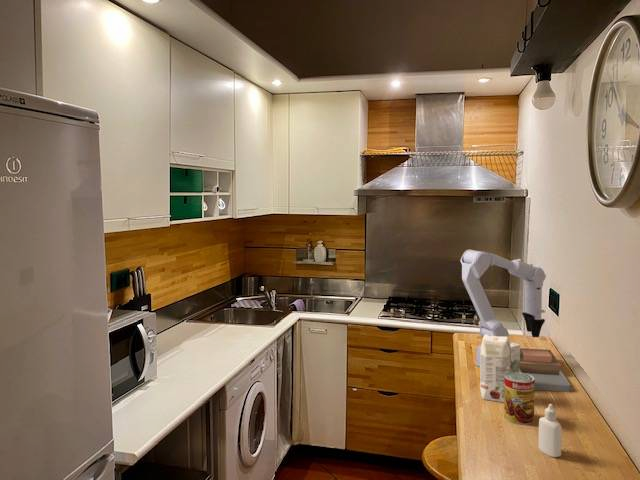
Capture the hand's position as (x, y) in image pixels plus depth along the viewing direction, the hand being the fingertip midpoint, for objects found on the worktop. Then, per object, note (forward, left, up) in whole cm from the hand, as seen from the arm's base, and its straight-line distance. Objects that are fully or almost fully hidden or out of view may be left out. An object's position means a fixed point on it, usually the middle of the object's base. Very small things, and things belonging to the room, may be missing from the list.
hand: (532, 334), depth 187 cm
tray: (-14, -17, -11) cm, 25 cm away
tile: (-6, -7, -7) cm, 11 cm away
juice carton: (-38, -19, -11) cm, 43 cm away
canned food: (-43, -33, -11) cm, 55 cm away
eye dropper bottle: (-51, -50, -11) cm, 72 cm away
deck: (-4, -5, -11) cm, 12 cm away
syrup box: (-28, -14, -11) cm, 33 cm away
